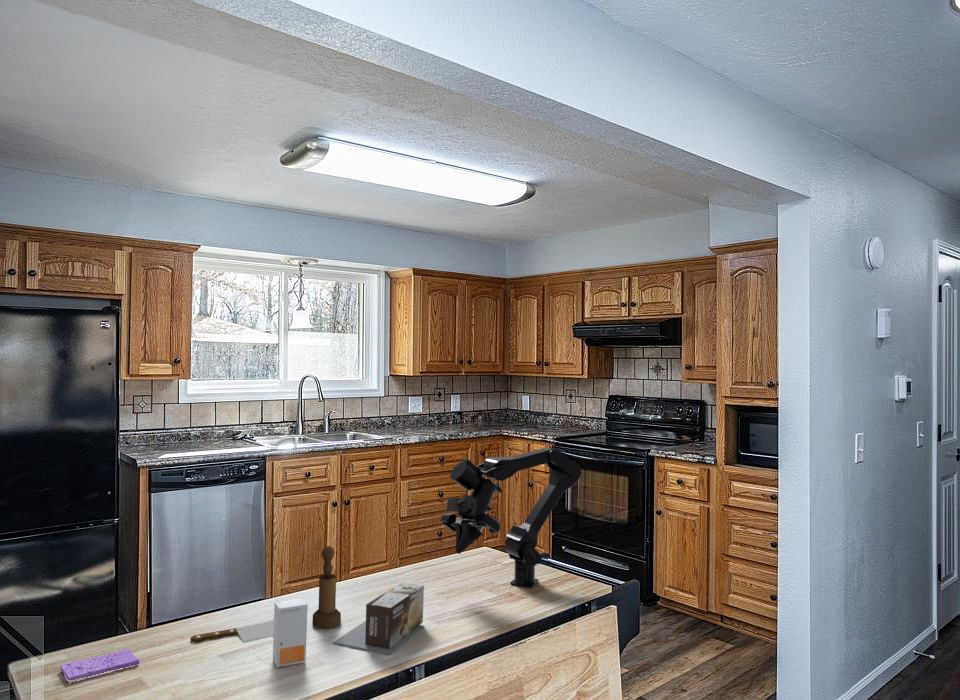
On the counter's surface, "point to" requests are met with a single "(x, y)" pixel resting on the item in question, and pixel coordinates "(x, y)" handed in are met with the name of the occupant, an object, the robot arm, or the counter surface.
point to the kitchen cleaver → (240, 633)
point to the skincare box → (290, 632)
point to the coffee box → (394, 615)
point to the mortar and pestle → (327, 595)
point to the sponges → (99, 664)
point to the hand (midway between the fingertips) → (457, 553)
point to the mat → (357, 641)
